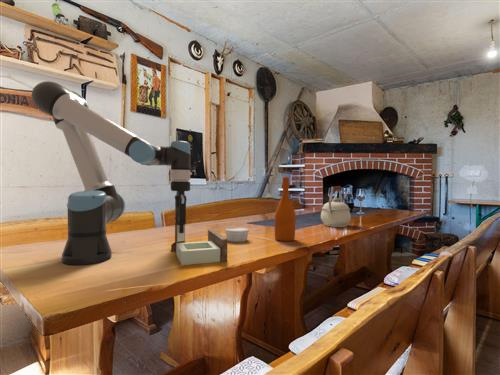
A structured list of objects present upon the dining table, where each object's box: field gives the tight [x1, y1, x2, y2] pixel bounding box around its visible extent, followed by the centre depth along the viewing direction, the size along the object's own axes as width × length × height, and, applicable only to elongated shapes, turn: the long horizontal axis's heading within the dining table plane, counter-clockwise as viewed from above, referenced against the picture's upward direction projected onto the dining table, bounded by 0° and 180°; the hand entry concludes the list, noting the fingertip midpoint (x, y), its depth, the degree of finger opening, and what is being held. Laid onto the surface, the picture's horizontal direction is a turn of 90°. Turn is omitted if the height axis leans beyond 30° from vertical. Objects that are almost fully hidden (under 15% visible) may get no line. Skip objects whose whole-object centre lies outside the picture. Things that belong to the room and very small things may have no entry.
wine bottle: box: [274, 176, 296, 242], centre depth 140 cm, size 10×10×30 cm
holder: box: [175, 240, 221, 266], centre depth 104 cm, size 13×13×4 cm
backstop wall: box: [207, 229, 228, 263], centre depth 110 cm, size 2×20×8 cm, turn 21°
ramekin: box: [224, 227, 250, 243], centre depth 138 cm, size 11×11×5 cm
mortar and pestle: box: [170, 207, 186, 253], centre depth 117 cm, size 7×6×18 cm
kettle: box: [320, 185, 352, 228], centre depth 186 cm, size 25×18×25 cm
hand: (180, 239), depth 117 cm, fingers closed on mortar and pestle, 4 cm apart
